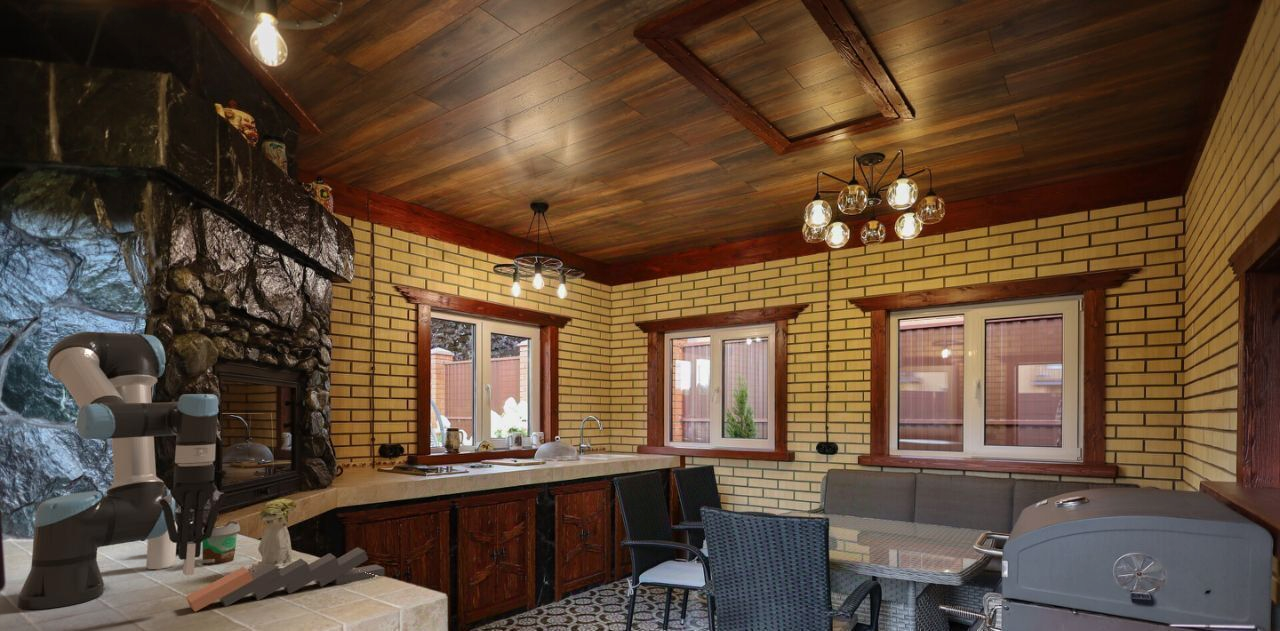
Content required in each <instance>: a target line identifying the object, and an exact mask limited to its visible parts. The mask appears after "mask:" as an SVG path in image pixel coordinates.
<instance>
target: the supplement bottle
mask: <svg viewBox="0 0 1280 631" xmlns="http://www.w3.org/2000/svg"><path fill="white" fill-rule="evenodd" d="M180 518H181V510H178V511H174V520H176V524H177V535H178V537H179V534H180ZM193 527H194V509H191V510H190V518H189V533H188V542H193ZM176 554H179V543H176Z"/></svg>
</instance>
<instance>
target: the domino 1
mask: <svg viewBox="0 0 1280 631" xmlns="http://www.w3.org/2000/svg"><path fill="white" fill-rule="evenodd" d="M251 581H253V578H252V576H251V573H250V569H247V568H246V567H244V566H242V567H240V568H238V569H236V570H234V571H232V572H231V573H228V574H227V575H224V576H223V577H221V578H219V579H217V580H215V581H213V582H211V583H209V584H208V585H205V586H203V587H202V588H200V589H198V590H196V591H194V592H192V593H190V594H188V595H186V596H185V599H186V601H187V603H188V606H189V607H190V608H191V610H193V612H195V613H196V612H198V611H199V610H201V609H203V608H205V607H207V606H208V605H210V604H212V603H214V602H216V601H219V599H220V598H222V597H223V596H225V595H227V594H229V593H231V592H233V591H235V590H236V589H238V588H240V587H242V586H244V585H246V584H247V583H249V582H251Z"/></svg>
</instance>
